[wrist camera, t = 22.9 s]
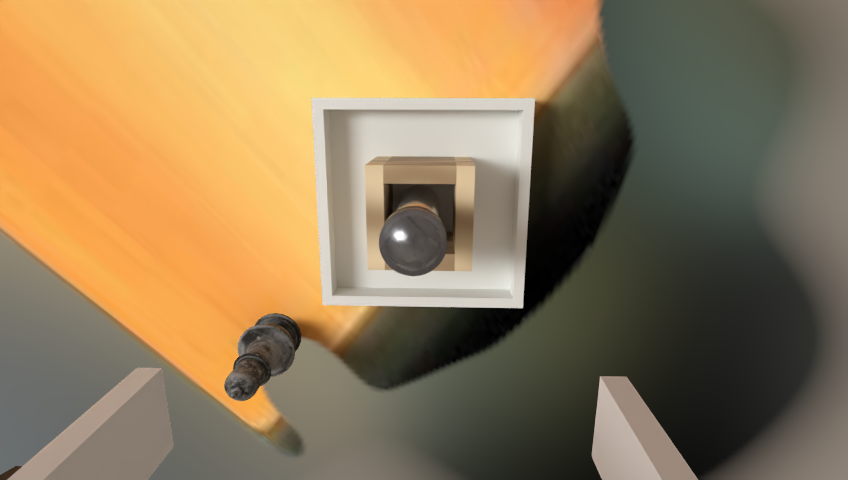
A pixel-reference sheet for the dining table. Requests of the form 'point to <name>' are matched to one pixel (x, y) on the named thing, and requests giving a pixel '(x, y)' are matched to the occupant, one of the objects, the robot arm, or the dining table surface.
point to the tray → (438, 137)
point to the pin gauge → (414, 233)
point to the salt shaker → (263, 355)
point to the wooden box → (421, 171)
